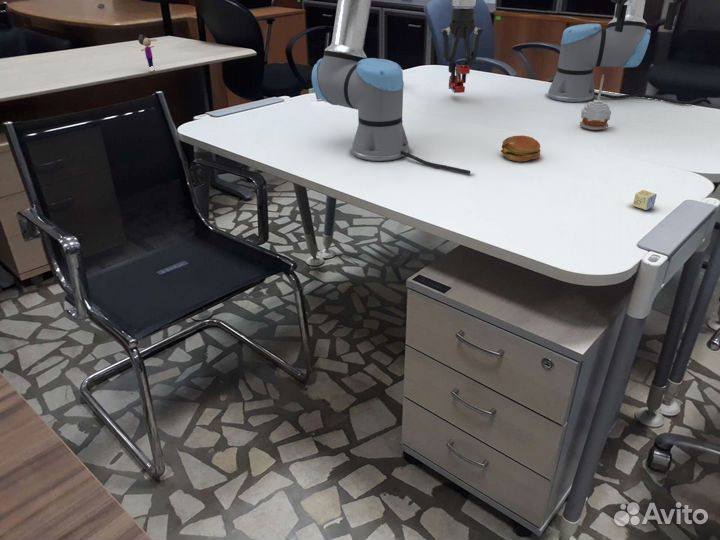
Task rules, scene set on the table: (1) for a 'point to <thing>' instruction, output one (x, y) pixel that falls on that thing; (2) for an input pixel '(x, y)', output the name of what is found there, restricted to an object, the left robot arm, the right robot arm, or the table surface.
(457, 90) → the toy fire truck
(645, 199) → the alphabet block
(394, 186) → the table surface
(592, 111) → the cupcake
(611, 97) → the right robot arm
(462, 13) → the left robot arm
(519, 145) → the burger
